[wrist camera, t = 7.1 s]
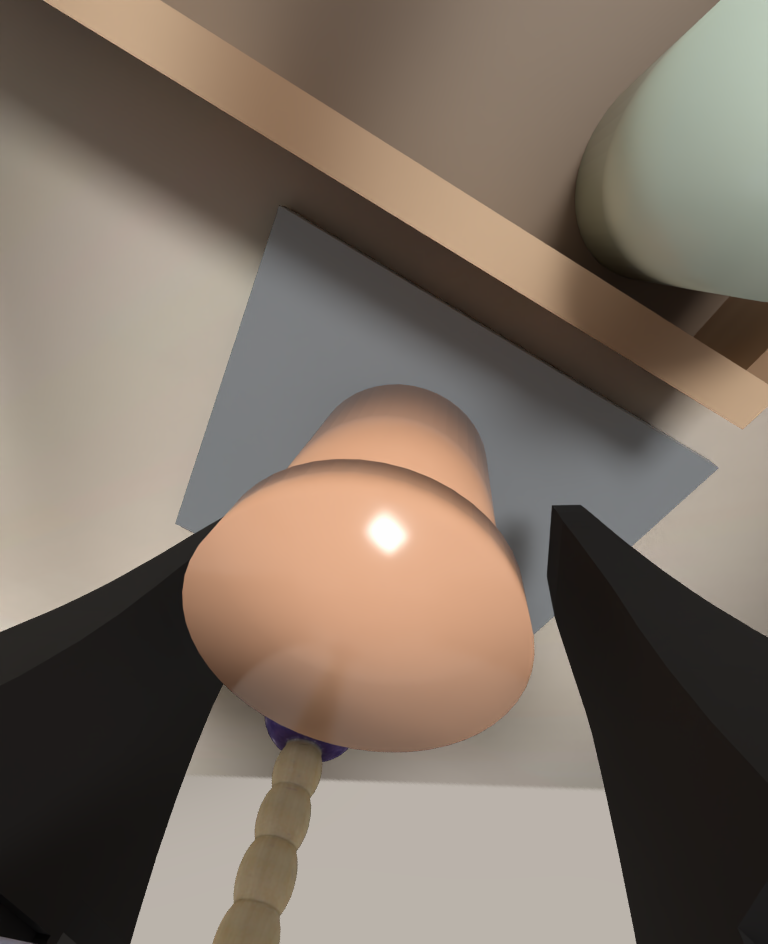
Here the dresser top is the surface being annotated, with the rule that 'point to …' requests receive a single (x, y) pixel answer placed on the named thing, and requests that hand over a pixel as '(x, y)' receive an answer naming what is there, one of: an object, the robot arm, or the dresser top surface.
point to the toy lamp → (276, 840)
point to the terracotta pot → (368, 583)
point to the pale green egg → (687, 163)
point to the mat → (438, 370)
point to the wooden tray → (464, 141)
